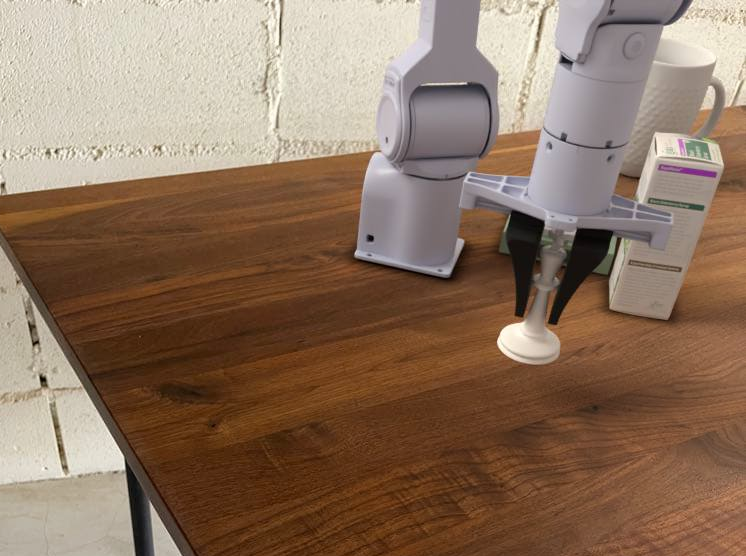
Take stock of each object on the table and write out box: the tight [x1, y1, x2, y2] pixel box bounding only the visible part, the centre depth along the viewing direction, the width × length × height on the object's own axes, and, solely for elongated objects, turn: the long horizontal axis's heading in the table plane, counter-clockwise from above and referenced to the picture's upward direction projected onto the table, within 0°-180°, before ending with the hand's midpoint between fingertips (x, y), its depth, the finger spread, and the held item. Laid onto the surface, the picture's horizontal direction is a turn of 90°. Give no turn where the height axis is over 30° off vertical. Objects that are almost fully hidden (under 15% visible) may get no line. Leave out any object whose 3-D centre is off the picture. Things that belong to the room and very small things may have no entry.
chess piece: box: [496, 229, 568, 366], centre depth 66 cm, size 5×5×10 cm
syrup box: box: [608, 132, 725, 321], centre depth 79 cm, size 6×6×14 cm
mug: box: [619, 36, 726, 179], centre depth 104 cm, size 15×11×13 cm
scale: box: [498, 214, 618, 276], centre depth 91 cm, size 11×11×3 cm
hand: (536, 314), depth 68 cm, fingers closed on chess piece
